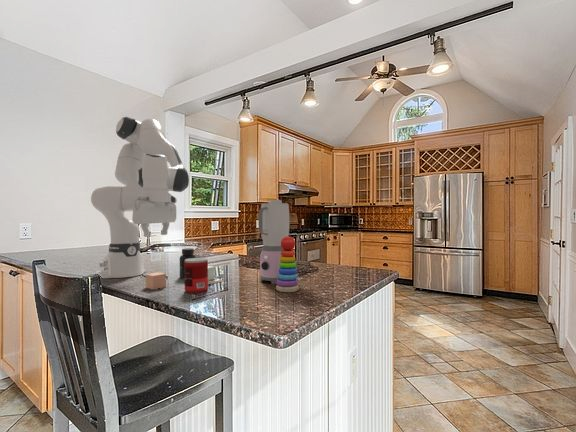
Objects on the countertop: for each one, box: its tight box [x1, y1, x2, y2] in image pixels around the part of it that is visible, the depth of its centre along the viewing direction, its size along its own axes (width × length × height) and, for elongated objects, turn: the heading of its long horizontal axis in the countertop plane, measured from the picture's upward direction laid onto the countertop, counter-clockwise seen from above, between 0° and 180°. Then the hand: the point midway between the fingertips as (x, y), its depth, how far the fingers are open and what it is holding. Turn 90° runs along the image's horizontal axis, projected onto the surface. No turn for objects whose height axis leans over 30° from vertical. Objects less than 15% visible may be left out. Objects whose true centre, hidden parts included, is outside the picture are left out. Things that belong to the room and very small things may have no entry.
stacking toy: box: [275, 235, 300, 293], centre depth 109 cm, size 8×8×19 cm
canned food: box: [184, 257, 209, 294], centre depth 110 cm, size 8×8×11 cm
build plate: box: [208, 278, 222, 286], centre depth 123 cm, size 9×8×1 cm
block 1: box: [145, 272, 167, 291], centre depth 115 cm, size 5×5×5 cm
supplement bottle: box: [179, 247, 197, 279], centre depth 133 cm, size 7×7×12 cm
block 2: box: [208, 265, 216, 281], centre depth 123 cm, size 5×5×5 cm
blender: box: [257, 199, 290, 285], centre depth 123 cm, size 16×12×32 cm
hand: (156, 235), depth 115 cm, fingers open, 8 cm apart
